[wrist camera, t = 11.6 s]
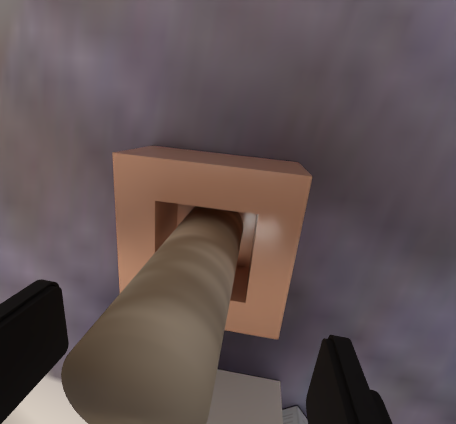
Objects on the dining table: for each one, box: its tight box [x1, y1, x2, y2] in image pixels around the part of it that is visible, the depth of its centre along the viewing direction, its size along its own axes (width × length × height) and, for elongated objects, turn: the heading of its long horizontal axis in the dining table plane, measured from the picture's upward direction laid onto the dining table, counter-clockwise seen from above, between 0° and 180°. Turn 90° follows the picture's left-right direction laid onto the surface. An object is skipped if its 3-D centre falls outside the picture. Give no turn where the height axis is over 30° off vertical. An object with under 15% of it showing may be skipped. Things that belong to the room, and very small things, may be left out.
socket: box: [112, 146, 312, 340], centre depth 17 cm, size 10×10×5 cm
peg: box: [61, 206, 243, 424], centre depth 12 cm, size 4×4×12 cm
